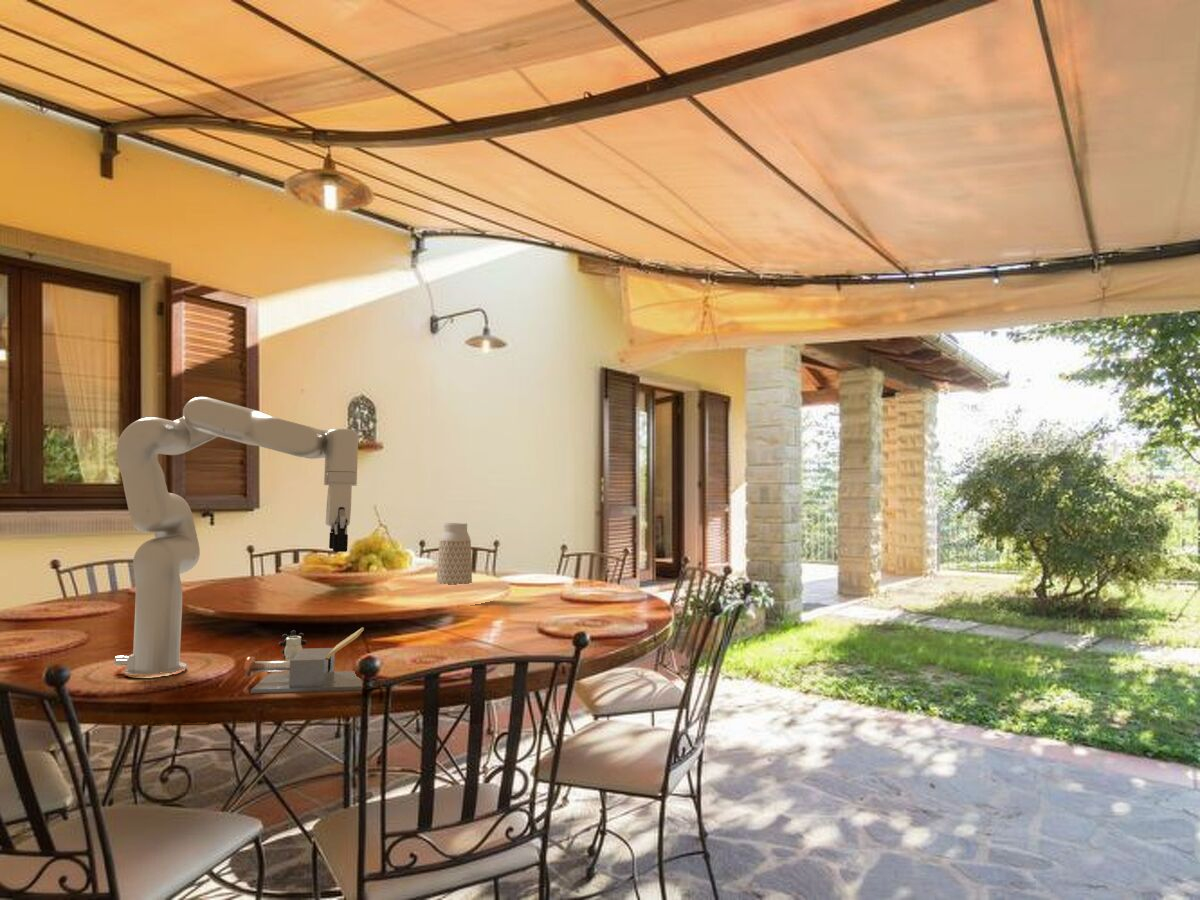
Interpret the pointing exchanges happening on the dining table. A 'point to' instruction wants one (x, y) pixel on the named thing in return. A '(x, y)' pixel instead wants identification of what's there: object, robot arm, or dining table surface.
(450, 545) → the vase
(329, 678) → the grey base plate
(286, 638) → the valve
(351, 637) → the keeper flap
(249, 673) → the pin
